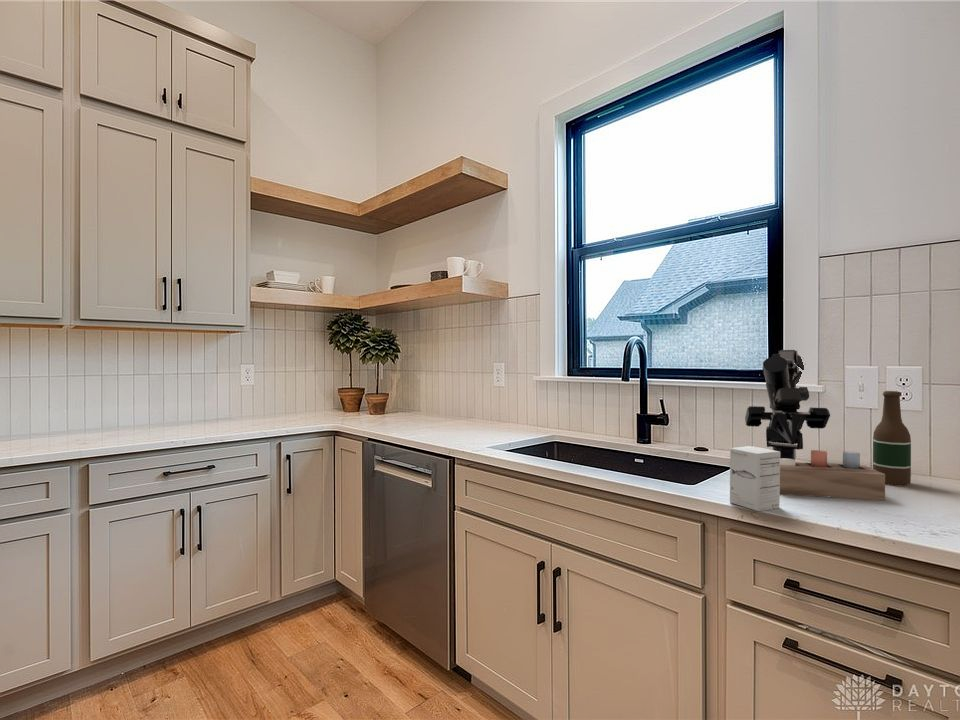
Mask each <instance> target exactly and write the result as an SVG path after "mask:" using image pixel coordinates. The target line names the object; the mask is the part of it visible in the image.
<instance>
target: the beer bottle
mask: <svg viewBox="0 0 960 720" xmlns="http://www.w3.org/2000/svg"><path fill="white" fill-rule="evenodd" d="M882 396H883V405H882V416H881V420H880V422H879V423H878V424H877V426H875V429H874V431H873V437H872V469H874V470H876V471H879V472H881V473H883V474H885V485H888V484H889V486H897V485H902V486H903V487H905V485H906V486H909V485H910V484H911V481H912V480H911V479H912V475H911V474H912V440H911V438H912V437H911V434H910V431H909V429H908V428H907V427H906V425H905V424H904V422H903V419H902V411H901V399H900V398H901V396H902V393H901V392H900V391H897V390H885V391H883V393H882ZM908 484H909V485H908ZM902 486H901V487H902Z"/></svg>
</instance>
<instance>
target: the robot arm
mask: <svg viewBox="0 0 960 720" xmlns="http://www.w3.org/2000/svg"><path fill="white" fill-rule="evenodd" d="M801 357H802V356H801V355H799V354H798V350H795V349H781V350H778V353H772V354H771V356H770V357H768V358H766V359H765V360H764V361H763V362H762V374H763V375H764V379H765V382H766V383H765V388H766V391H767V394H768V395H767V396H768V399H769V408H770V409H771V412H768V411H766V407H765V406H756V405H755V406H754V405H750V406H748V407H747V408H746V412H745V417H744V421H745V426H747V427H756V428H757V427H760V426H761V425H762V421H769V424H768V425H767V426H766V428H765V430H766V431H765V437H766V440H765V441H766V447H767V448H771V447H772V450H774V451H780V458H788V459H794V460H795V461H796V450H798V451H799V450H804V439H803V438H804V437H803V433H802V432H801V429H802V428H803V425H804V423H805V422H806V426H807V427H809V428H810V429H819V430H820V429H824V428H826V427H827V425H828V422H829V420H830V417H831V412H830V410H829V409H828V408H827V407H809V409H808V411H806V412H805V411H798V410H800V408H801V404H800V402H802V401H804V402H805V401H808V399H810V392H809V389H808V387H807V386H798V387H796V384H797V383H798V382H799V379H800V377H801V374H802V372H801V371H799V368H798V367H800V368H801V369H802V370H804V365H803V362H802V359H801ZM794 363H795V364H794ZM797 366H798V367H797Z"/></svg>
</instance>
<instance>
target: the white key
mask: <svg viewBox="0 0 960 720" xmlns="http://www.w3.org/2000/svg"><path fill="white" fill-rule="evenodd" d="M795 462H796V459H795V460H794V459H788V458H780V465H786V466H795Z"/></svg>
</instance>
